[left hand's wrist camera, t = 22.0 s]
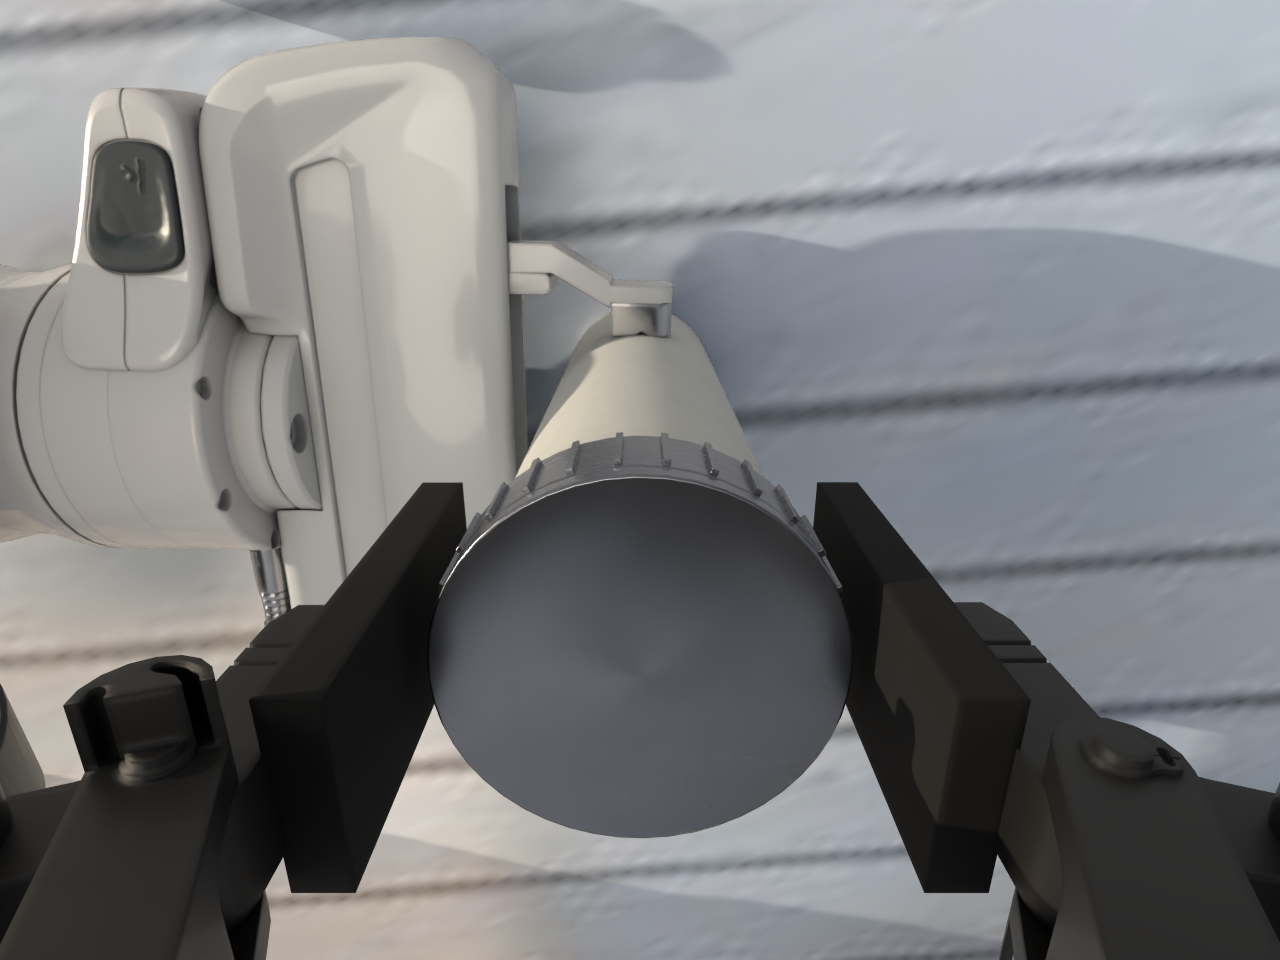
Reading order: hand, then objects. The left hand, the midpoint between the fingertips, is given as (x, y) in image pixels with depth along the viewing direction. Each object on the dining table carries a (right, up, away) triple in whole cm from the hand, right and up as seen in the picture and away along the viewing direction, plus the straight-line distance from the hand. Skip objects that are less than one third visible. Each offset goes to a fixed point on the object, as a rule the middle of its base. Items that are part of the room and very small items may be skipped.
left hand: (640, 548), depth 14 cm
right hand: (+1, +3, +9) cm, 10 cm away
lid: (0, -1, -3) cm, 4 cm away
